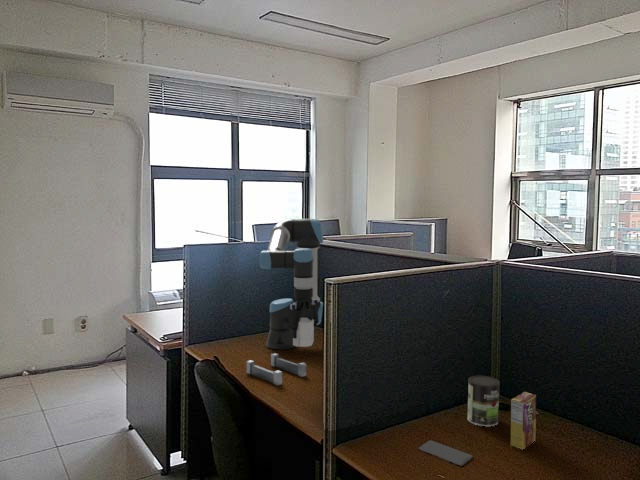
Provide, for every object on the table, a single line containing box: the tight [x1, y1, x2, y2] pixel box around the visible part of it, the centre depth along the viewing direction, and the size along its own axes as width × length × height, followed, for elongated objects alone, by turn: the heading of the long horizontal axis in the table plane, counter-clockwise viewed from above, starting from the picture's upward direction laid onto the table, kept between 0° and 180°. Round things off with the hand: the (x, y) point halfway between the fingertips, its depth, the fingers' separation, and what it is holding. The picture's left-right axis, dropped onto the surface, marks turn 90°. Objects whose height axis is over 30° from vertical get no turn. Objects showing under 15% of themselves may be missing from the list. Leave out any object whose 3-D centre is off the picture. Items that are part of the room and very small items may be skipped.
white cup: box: [297, 318, 314, 348], centre depth 209 cm, size 8×8×10 cm
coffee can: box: [466, 375, 501, 428], centre depth 178 cm, size 10×10×14 cm
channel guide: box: [246, 352, 307, 386], centre depth 223 cm, size 16×20×5 cm
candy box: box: [510, 391, 537, 450], centre depth 161 cm, size 9×4×15 cm, turn 133°
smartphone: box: [418, 440, 474, 466], centre depth 156 cm, size 8×1×15 cm
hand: (303, 343), depth 209 cm, fingers closed on white cup, 7 cm apart
